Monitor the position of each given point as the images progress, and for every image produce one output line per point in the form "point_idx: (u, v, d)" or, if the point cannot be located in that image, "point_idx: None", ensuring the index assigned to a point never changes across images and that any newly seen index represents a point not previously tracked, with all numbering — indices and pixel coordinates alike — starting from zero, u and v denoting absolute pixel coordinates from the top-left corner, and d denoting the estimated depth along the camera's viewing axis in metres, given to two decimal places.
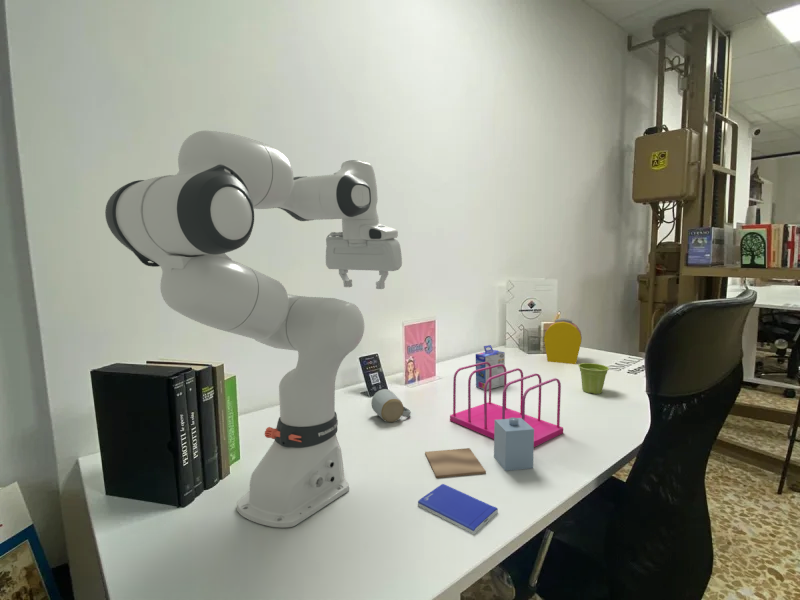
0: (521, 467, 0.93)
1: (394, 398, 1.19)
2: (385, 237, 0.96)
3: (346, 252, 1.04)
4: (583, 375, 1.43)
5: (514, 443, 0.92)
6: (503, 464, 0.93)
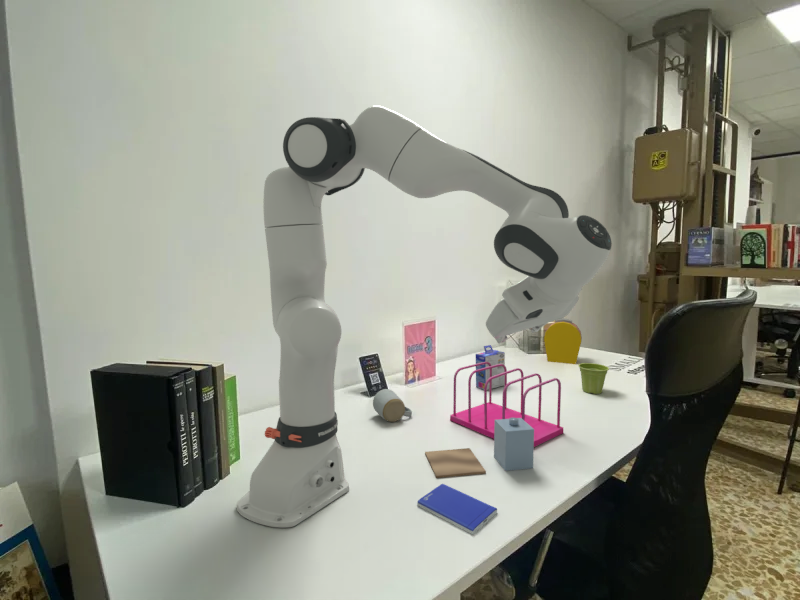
0: (521, 467, 0.93)
1: (395, 398, 1.19)
2: (502, 294, 0.78)
3: None
4: (583, 375, 1.43)
5: (514, 443, 0.92)
6: (503, 464, 0.93)
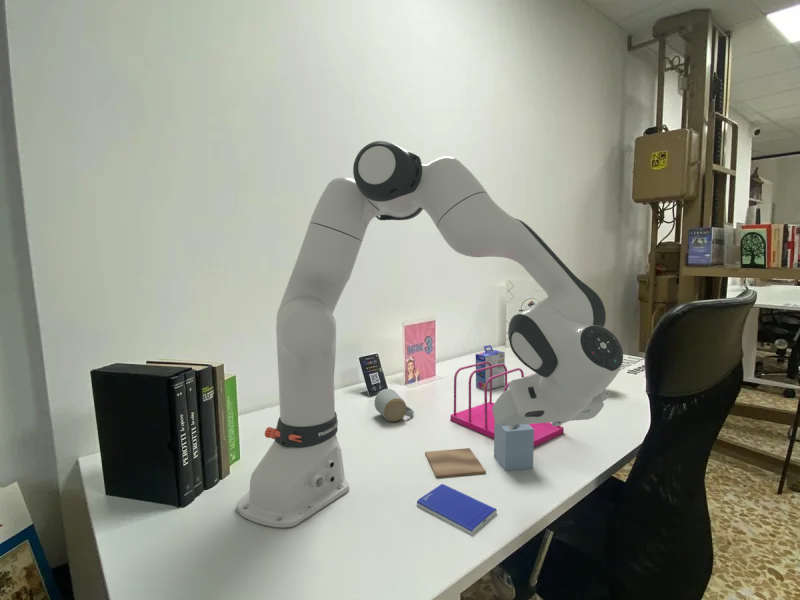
0: (521, 467, 0.93)
1: (397, 398, 1.19)
2: (509, 384, 0.76)
3: None
4: None
5: (514, 443, 0.92)
6: (503, 464, 0.93)
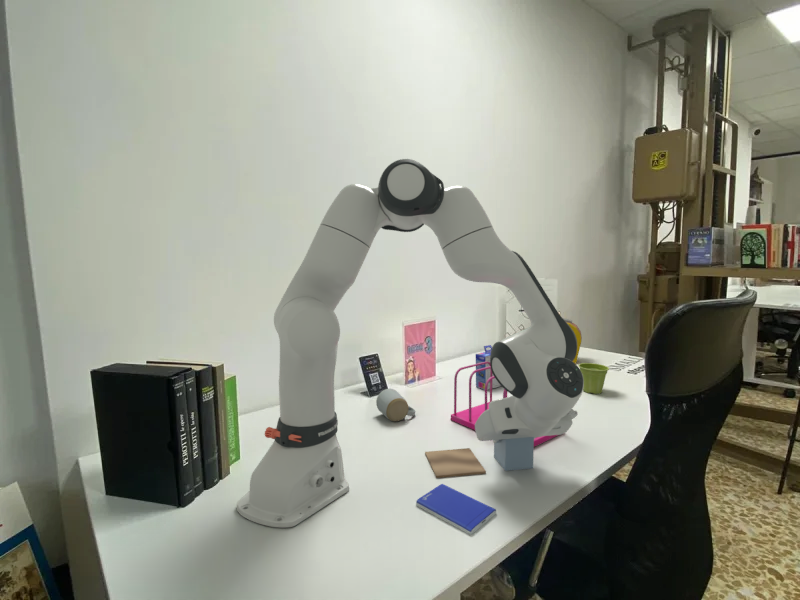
0: (521, 467, 0.93)
1: (399, 397, 1.19)
2: (489, 404, 0.87)
3: None
4: (583, 375, 1.43)
5: (514, 443, 0.92)
6: (503, 464, 0.93)
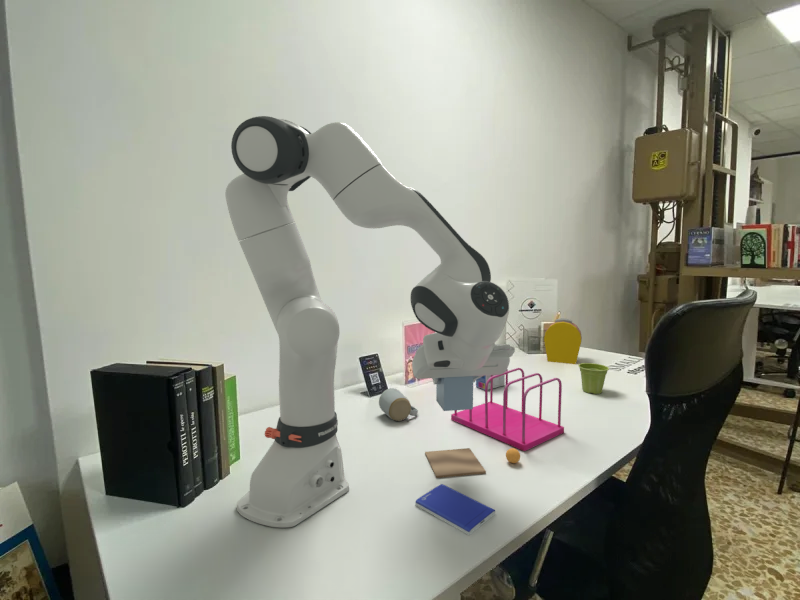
0: (460, 407, 0.91)
1: (402, 397, 1.19)
2: None
3: None
4: (583, 375, 1.43)
5: (453, 382, 0.90)
6: (442, 404, 0.91)
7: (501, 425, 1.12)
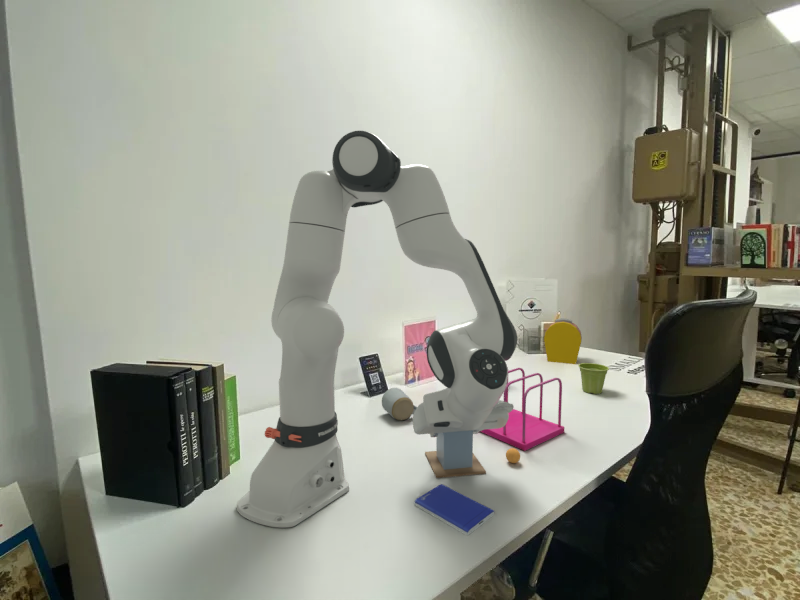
0: (460, 466, 0.93)
1: (404, 396, 1.20)
2: None
3: None
4: (583, 375, 1.43)
5: (452, 442, 0.92)
6: (442, 463, 0.93)
7: None
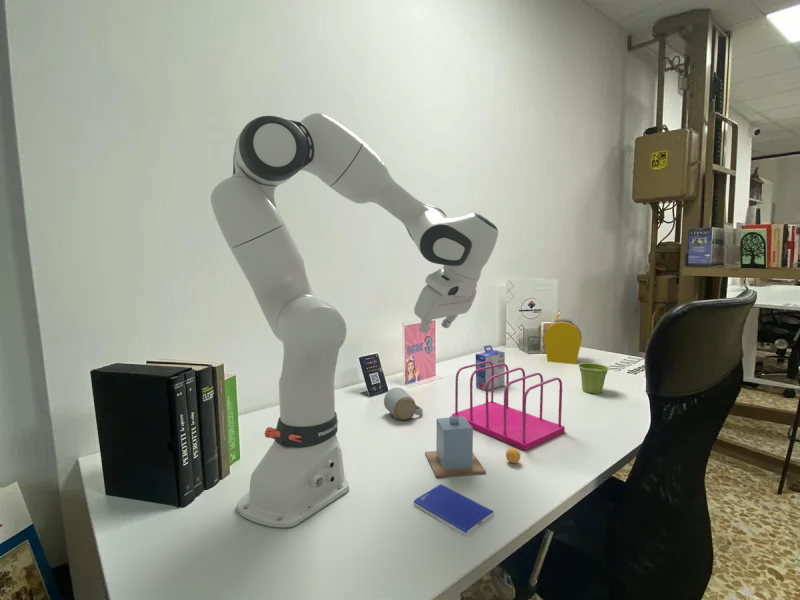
0: (460, 466, 0.93)
1: (407, 396, 1.20)
2: (425, 281, 0.96)
3: None
4: (583, 375, 1.43)
5: (452, 442, 0.92)
6: (442, 463, 0.93)
7: (502, 425, 1.13)
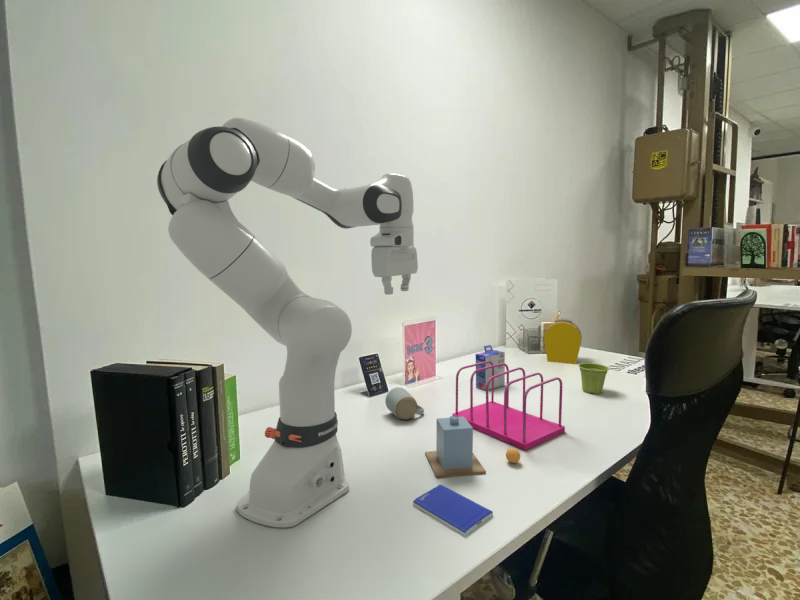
0: (460, 466, 0.93)
1: (408, 396, 1.20)
2: (370, 244, 1.03)
3: None
4: (583, 375, 1.43)
5: (452, 442, 0.92)
6: (442, 463, 0.93)
7: (502, 424, 1.13)
